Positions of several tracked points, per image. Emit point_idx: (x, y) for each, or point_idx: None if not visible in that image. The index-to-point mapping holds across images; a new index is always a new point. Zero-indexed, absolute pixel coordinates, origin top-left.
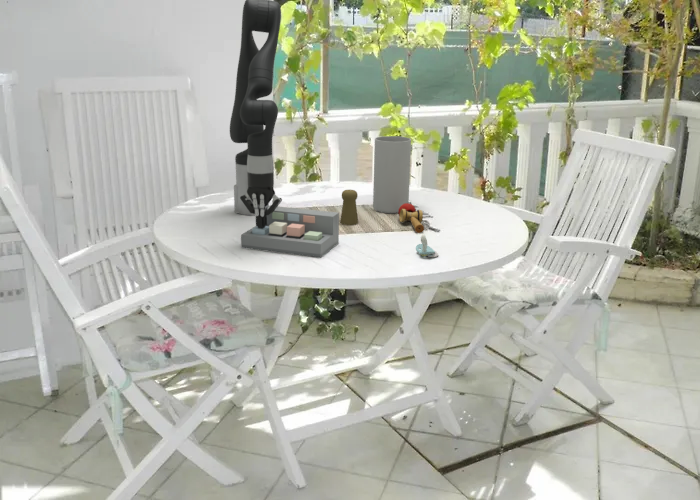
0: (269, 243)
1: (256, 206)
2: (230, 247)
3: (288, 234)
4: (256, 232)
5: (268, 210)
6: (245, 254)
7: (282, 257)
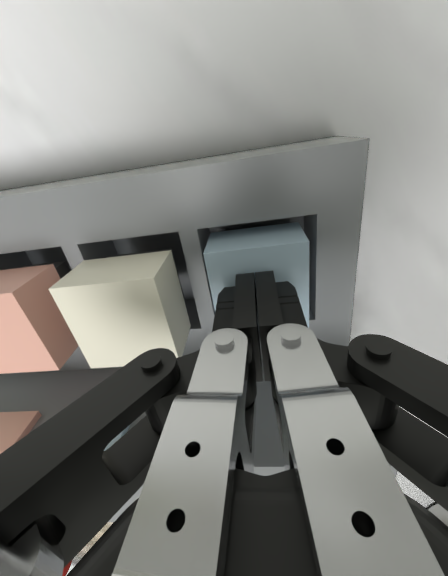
0: (136, 172)
1: (301, 411)
2: (410, 106)
3: (36, 267)
4: (270, 236)
5: (130, 392)
6: (241, 8)
7: (18, 100)
